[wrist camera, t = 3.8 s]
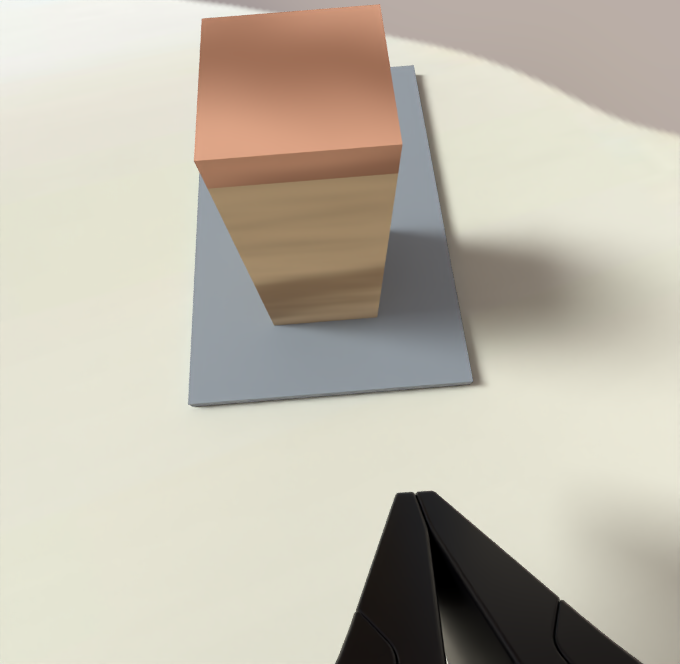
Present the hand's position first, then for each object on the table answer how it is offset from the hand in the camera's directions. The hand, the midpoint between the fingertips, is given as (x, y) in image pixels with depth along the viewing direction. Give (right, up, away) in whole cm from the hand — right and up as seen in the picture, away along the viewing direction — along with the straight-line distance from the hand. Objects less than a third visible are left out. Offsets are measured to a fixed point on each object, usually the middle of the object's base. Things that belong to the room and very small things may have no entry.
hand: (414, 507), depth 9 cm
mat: (-3, +10, +14) cm, 18 cm away
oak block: (-2, +7, +12) cm, 14 cm away
